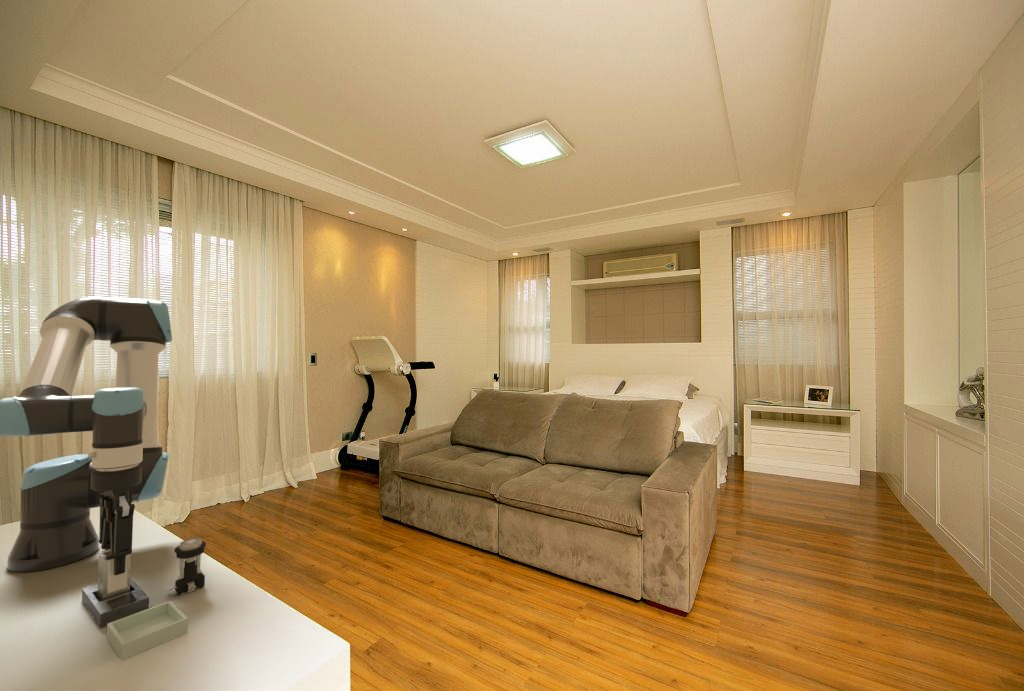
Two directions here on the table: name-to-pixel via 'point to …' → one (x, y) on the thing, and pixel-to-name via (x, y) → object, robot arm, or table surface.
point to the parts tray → (146, 629)
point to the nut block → (103, 578)
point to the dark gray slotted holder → (114, 604)
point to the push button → (189, 566)
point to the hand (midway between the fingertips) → (114, 585)
